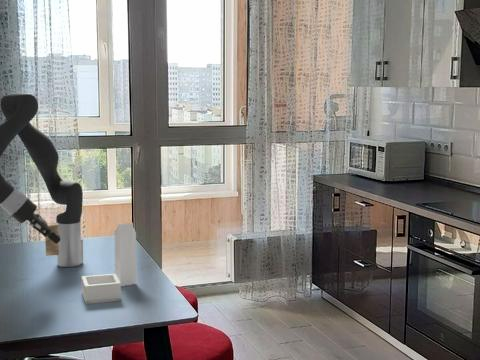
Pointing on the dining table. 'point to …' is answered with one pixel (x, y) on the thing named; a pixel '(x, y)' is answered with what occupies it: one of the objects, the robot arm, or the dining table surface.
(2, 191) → the robot arm
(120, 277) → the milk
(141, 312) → the dining table surface
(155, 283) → the dining table surface
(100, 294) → the white well
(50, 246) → the beech post
